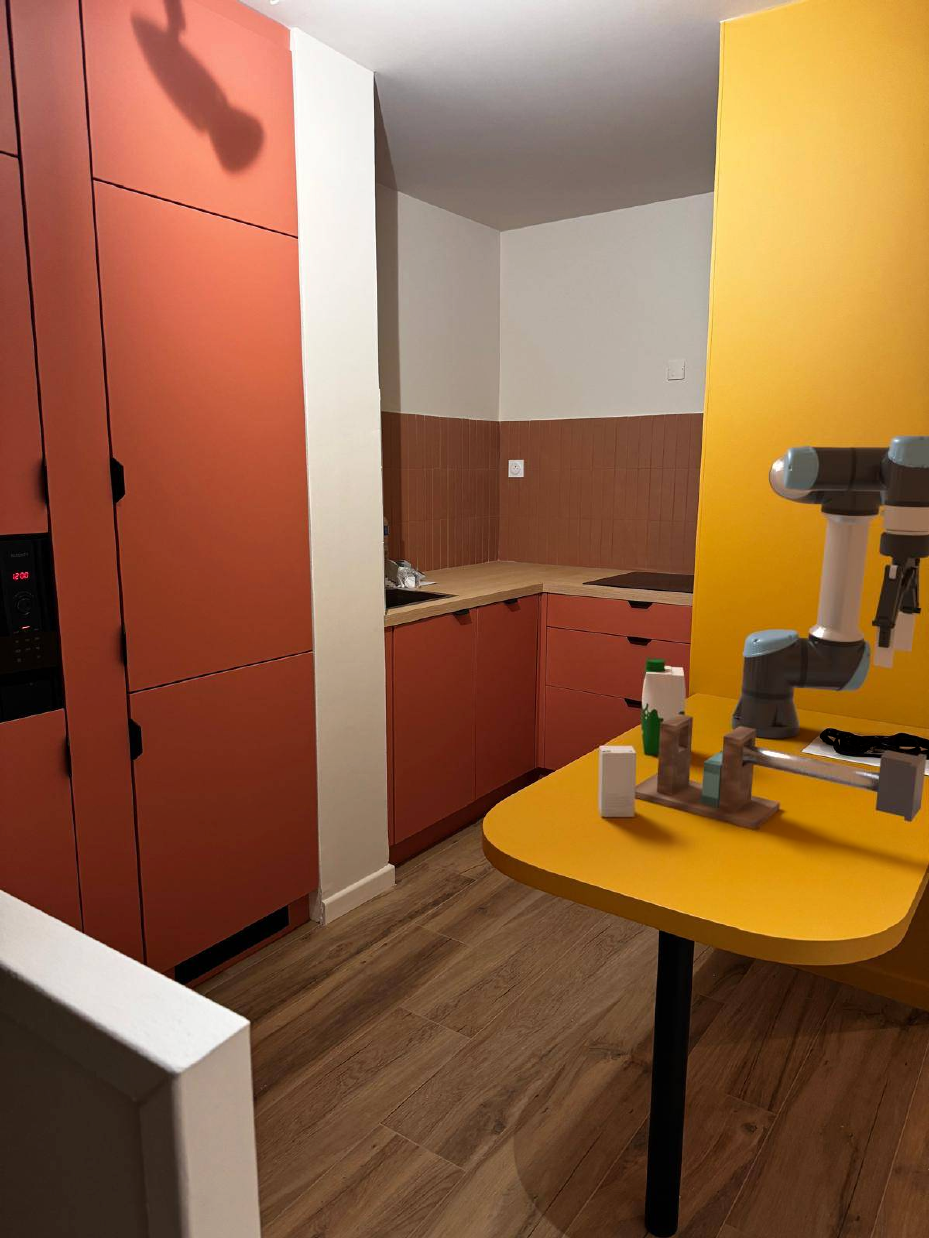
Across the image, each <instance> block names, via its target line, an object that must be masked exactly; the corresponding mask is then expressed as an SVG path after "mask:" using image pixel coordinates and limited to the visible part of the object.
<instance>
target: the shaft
mask: <svg viewBox="0 0 929 1238" xmlns="http://www.w3.org/2000/svg"><path fill="white" fill-rule="evenodd" d="M742 762H744V763H748V764H753V765H754V766H757V767H758V766H759V767H763V768H767V769H772V770H776V771H780V772H785V773H789V774H793V775H799V776H802V777H808V778H813V779H817V780H821V781H825V782H829V783H834V784H839V785H843V786H847V787H851V788H852V787H853V788H857V789H862V790H865V791H870V792H874V793H876V803H875V811H876V812H877V811H878V812H882V813H886V814H891V815H895V816H898V817H904V819H903V820H904V821H906V822H909V823H912V821H913V820H914V818H915V817H916V816H917V815H918V813H919V812H920V810H921V809H922V799H923V791H924V790H923V789H924V784H925V783H924V782H925V773H926V764H927V754H924V753H923V754H922V753H919V754H918V755H913V754H910V753H909V754H908V753H902V752H898V751H893V750H886V751H885V752H884V753H883V754H882V755H881V756H880V762H879V763H880V764H879V771H874V770H870V769H869V770H868V769H865V768H859V767H856V766H855V767H854V766H850V765H845V764H841V763H835V762H832V761H827V760H822V759H817V758H813V757H806V756H802V755H799V754H793V753H790V752H783V751H779V750H773V749H770V748H765V747H760V746H756V745H755V746H751V745H746V744H744V747H743V761H742Z"/></svg>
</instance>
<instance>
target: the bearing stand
mask: <svg viewBox="0 0 929 1238" xmlns="http://www.w3.org/2000/svg"><path fill="white" fill-rule="evenodd" d="M693 722H694V716H690V715H687V714H686V715H681V714H677V715H675V716H673V717H671V718H669V719H667V720H665V721H663V722H661V723H660V740H659V755H658V760H657V761H658V762H657V773H655V774H652V775H651V776H650V777H648V778H647V779H645V780H643V781H642V782H640V783H638V784H636V785H635V799H640V800H643V801H647V802H650V803H655V804H658V805H660V806H661V805H662V806H666V807H669V808H673V809H676V810H681V811H684V812H686V813H687V812H688V813H691V814H694V815H699V816H703V817H706V818H710V819H714V820H717V821H721V822H725V823H728V824H732V825H735V826H738V827H739V826H740V827H743V828H746V829H751V830H754V831H757V829H758V828H760V827H761V826H762V825H763V824H764V823H765V822H766V821H768V819H770V818H771V817H772V816H773V815H774V814H775V813H776V812H777V811H779V810H780V807H781V806H780V805H781V802H780V801H777V800H771V799H768V798H765V797H760V796H756V795H752V794H753V793H752V791H753V780H754V779H753V777H754V766H755V765H753V764H748V763H744V762H742V761H743V747H744V744H746V745H751V746H756V737H757V736H756V729H752V728H747V727H742V726H739V727H738V728H736V729H733V730H731V731H730V732H727V733H726V734H725V735H723V740H722V741H723V742H722V751H723V753H722V768H721V783H720V798H719V808H714V807H710V806H706V805H702V804H701V801H702V785H703V782H699V781H694V780H690V774H691V757H692V743H693V742H692V741H693V724H694V723H693Z"/></svg>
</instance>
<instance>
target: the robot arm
mask: <svg viewBox="0 0 929 1238" xmlns="http://www.w3.org/2000/svg"><path fill="white" fill-rule="evenodd" d="M768 482H769V484H770V485H769V486H770V488H771V489H772V491H773V492H774V493H775V494H776V495H777V496H779V497H780V498H783V499H785V500H787V501H791V502H794V503H799V504H805V505H821V508H820V509H821V510H820V513H821V515H823V517H825V518H826V522H827V524H826V532H825V533H826V534H825V541H824V542H825V543H824V551H823V553H824V554H823V562H822V571H821V579H820V591H819V601H818V610H817V620H816V624H815V625H813V626H812V627H811V628H809V630H808V637H800V635H799V632H798V631H796V630H792V629H767V630H760V631H755V632H753V633H751V634H749V635H748V636H747V637H746V638H745V641H744V649H743V652H742V656H743V665H742V678H741V691H740V696H739V699H738V700H737V703H736V706H735V708H734V711H733V713H732V716H731V721H730V722H731V723H730V726H731V728H732V729H733V730H734V729H736V728H738V727H739V726H742V727H747V728H752V729H756V737H758V738H766V739H788V738H792V737H795V736H797V735H799V732H800V719H799V717H798V716H799V715H798V712H797V709H796V705H795V700H794V698H795V697H794V696H795V695H794V694H795V693H794V692H795V689H810V690H811V689H812V690H825V691H835V692H842V691H845V692H846V691H847V692H852V691H857V690H859V689H860V688H861V687H862V686H863V685H864V684H865V681H866V679H867V676H868V673H869V671H870V666H871V665H870V664H871V655H872V647H871V644H870V643H869V642H868V641H867V640H865V634H864V633H863V632H862V631H861V629H860V628H859V620H860V612H861V606H862V605H861V604H862V593H863V587H864V586H863V585H864V578H865V569H866V560H867V551H868V542H869V534H870V526H871V522H872V521H873V520H875V518H877V517H878V516H879V515H880V516H881V517H882V523H881V528H882V529H883V530H885V531H883V532H882V533H881V534H880V540H879V550H878V552H879V554H880V555H881V556H883V557H884V556H885V557H891V558H892V559H891V563H890V564H886V565H885V567H884V572H883V573H884V574H883V581H882V585H881V590H880V593H879V599H878V603H877V607H876V614H875V618H874V620H871V626H872V627H876V635H875V636H876V637H875V645H874V655H873V666H876V667H883V668H888V669H892V668H893V663H894V654H895V651H902V652H909V653H910V652H912V649H913V648H912V647H913V640H914V639H913V638H914V629H915V623H916V622H915V620H916V614H917V615H920V614H921V613H922V607H920V565H921V559H926V558H928V557H929V435H896V436H894V437H893V438H892V439H891V440H890V446H887V447H886V446H885V447H884V446H875V447H874V446H872V447H871V446H855V447H854V446H849V447H847V446H845V447H842V446H840V447H839V446H837V447H836V446H811V445H810V446H809V445H806V446H805V445H804V446H803V445H802V446H793V447H790V448H788V449H787V450H786V451H785V454H783V455H782V456H780V457H779V458H777V459H776V460H775V461H774V462H773V463H772V465H771V466H770V469H769V473H768ZM881 507H883V509H880V508H881Z"/></svg>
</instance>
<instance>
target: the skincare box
mask: <svg viewBox="0 0 929 1238" xmlns="http://www.w3.org/2000/svg"><path fill="white" fill-rule="evenodd" d="M598 749H599V751H598V753H599V755H598V796H597V797H598V801H597V802H598V805H597V807H598V811H599V814H600V816H601V817H602V818H603V817H604V818H634V817H635V813H636V811H635V810H636V809H635V807H636V806H635V805H636V798H635V786H636V781H637V780H636V775H637V773H636V772H637V771H636V770H637V753H636V750H635V749H634V747H633V745H599V748H598Z"/></svg>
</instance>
